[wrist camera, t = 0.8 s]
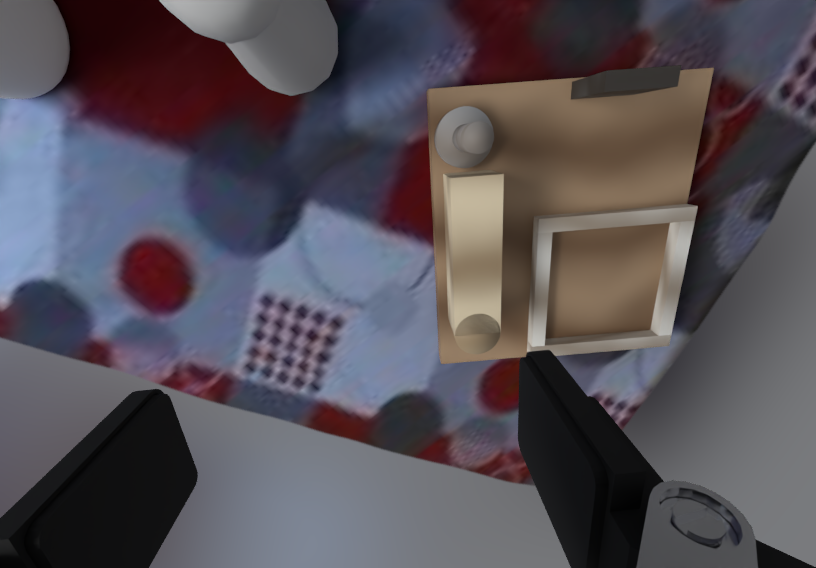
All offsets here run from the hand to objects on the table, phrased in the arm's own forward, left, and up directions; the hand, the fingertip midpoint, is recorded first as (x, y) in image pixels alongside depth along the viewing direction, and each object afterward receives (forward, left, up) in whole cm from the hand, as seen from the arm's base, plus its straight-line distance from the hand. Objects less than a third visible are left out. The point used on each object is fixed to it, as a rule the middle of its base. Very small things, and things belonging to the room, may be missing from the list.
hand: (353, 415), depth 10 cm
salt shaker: (-13, -4, -20) cm, 23 cm away
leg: (+1, +6, -16) cm, 17 cm away
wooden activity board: (0, +13, -19) cm, 23 cm away
